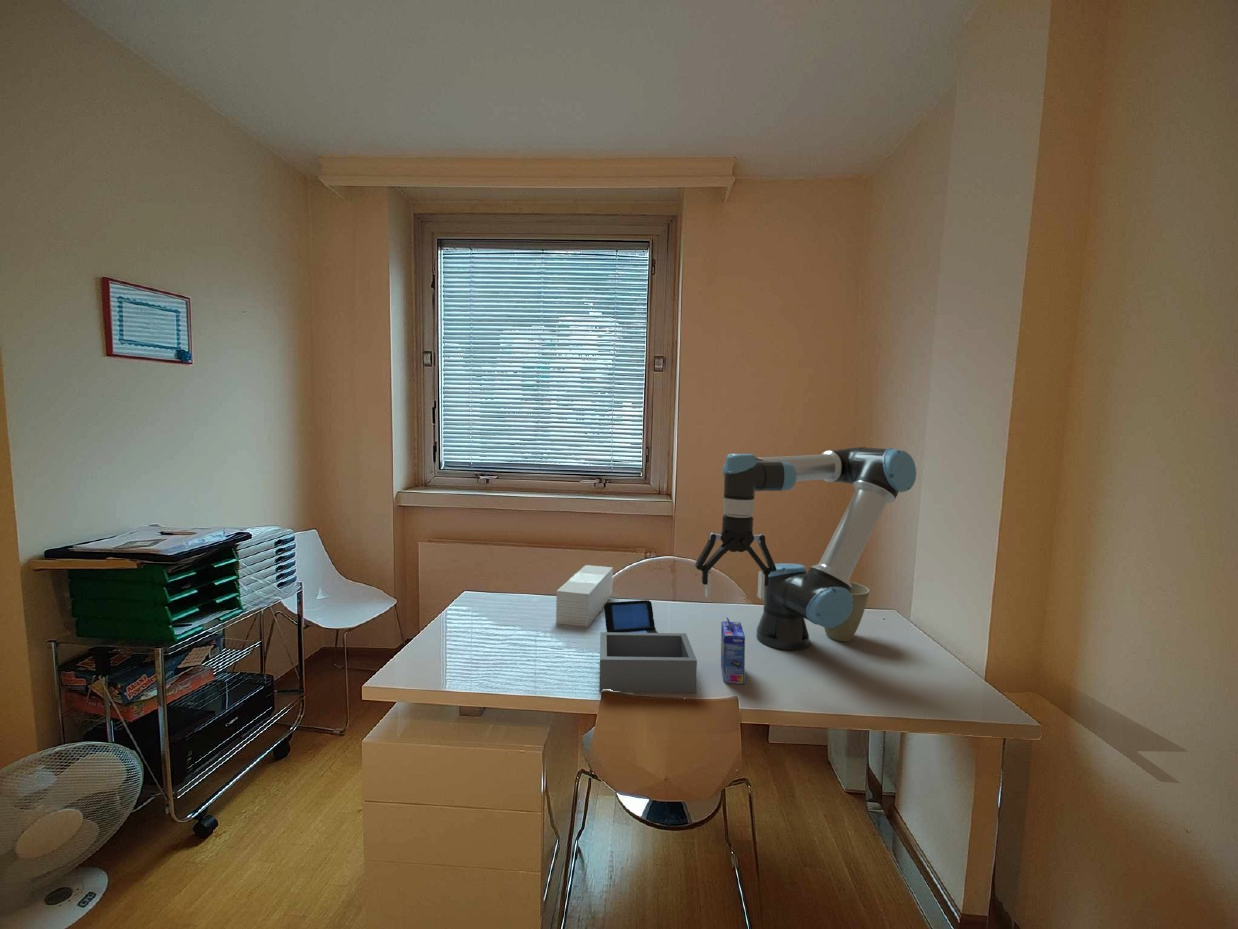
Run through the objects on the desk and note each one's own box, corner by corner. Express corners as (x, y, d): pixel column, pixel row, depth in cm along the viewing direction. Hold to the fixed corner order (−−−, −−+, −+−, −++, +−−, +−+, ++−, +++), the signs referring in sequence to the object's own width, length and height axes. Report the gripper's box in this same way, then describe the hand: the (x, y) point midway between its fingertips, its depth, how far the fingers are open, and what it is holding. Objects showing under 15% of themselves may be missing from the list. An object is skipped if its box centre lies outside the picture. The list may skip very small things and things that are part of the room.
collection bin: (685, 662, 137) (686, 633, 137) (695, 693, 121) (696, 660, 121) (599, 661, 137) (600, 632, 136) (599, 692, 121) (600, 659, 120)
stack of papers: (588, 627, 160) (588, 594, 159) (555, 623, 163) (556, 590, 162) (612, 595, 191) (612, 567, 191) (585, 592, 194) (585, 565, 193)
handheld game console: (614, 650, 144) (615, 618, 144) (602, 632, 157) (603, 602, 156) (665, 645, 149) (666, 614, 148) (650, 627, 162) (650, 599, 161)
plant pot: (860, 651, 147) (863, 597, 146) (807, 637, 156) (810, 586, 155) (870, 635, 159) (874, 585, 158) (821, 623, 168) (824, 576, 167)
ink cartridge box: (719, 664, 136) (721, 612, 135) (740, 666, 136) (742, 613, 135) (722, 683, 127) (724, 626, 126) (744, 685, 126) (747, 628, 125)
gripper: (781, 513, 132) (777, 593, 134) (686, 511, 132) (683, 591, 133) (792, 518, 125) (787, 603, 126) (691, 516, 124) (687, 601, 126)
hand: (734, 597), depth 130 cm, fingers open, 13 cm apart
